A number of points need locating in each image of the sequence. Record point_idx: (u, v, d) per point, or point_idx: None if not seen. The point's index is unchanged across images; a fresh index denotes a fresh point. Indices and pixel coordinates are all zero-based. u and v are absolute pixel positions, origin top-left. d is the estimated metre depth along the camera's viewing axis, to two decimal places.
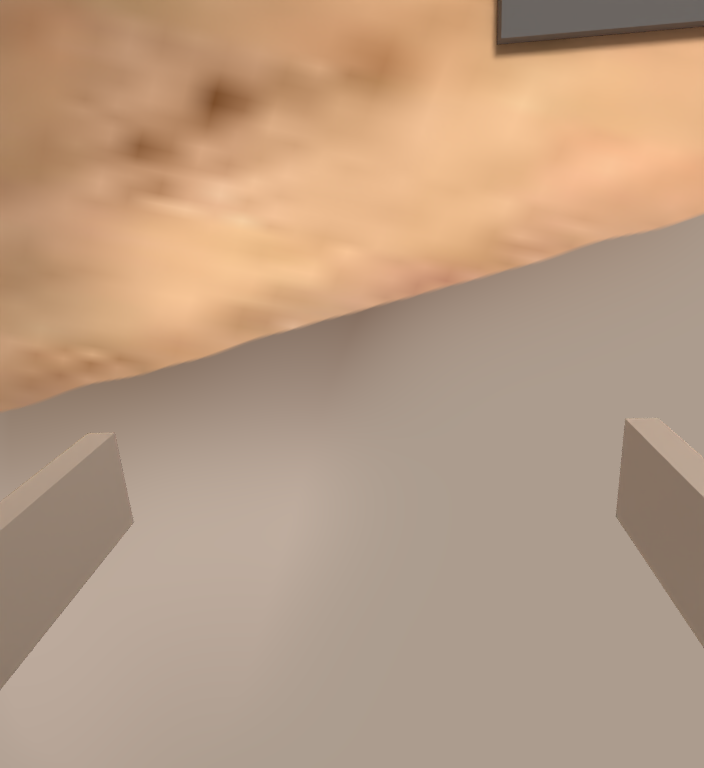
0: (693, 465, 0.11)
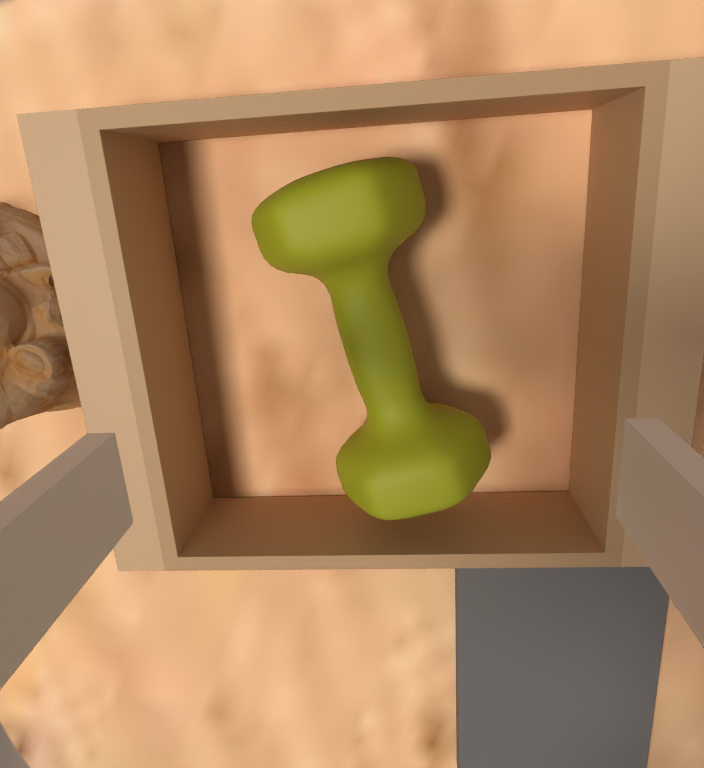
0: (693, 465, 0.11)
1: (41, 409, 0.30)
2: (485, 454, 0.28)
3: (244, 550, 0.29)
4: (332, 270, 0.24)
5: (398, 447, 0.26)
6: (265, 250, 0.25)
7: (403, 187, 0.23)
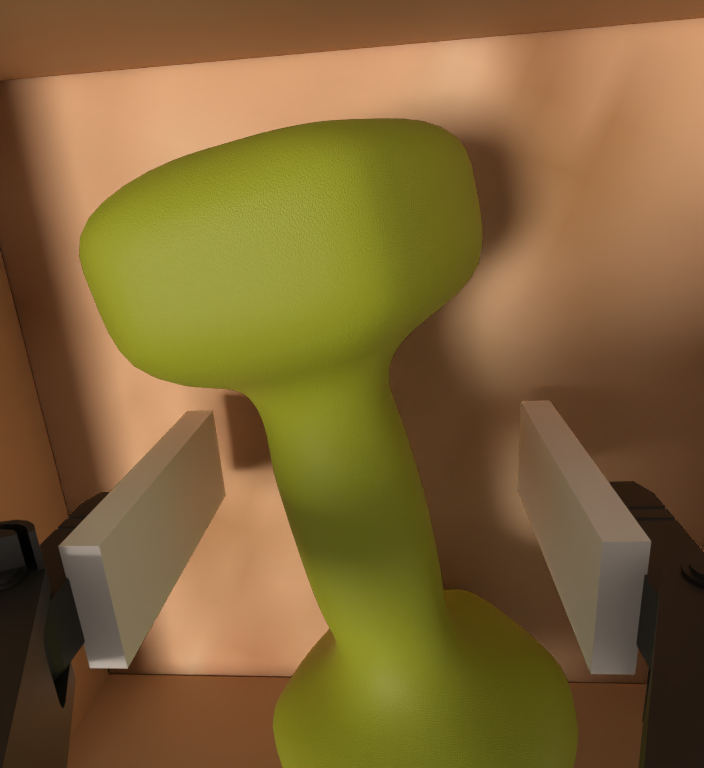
0: (561, 439, 0.13)
1: None
2: (572, 746, 0.14)
3: None
4: (253, 387, 0.10)
5: (395, 759, 0.12)
6: None
7: (437, 192, 0.09)
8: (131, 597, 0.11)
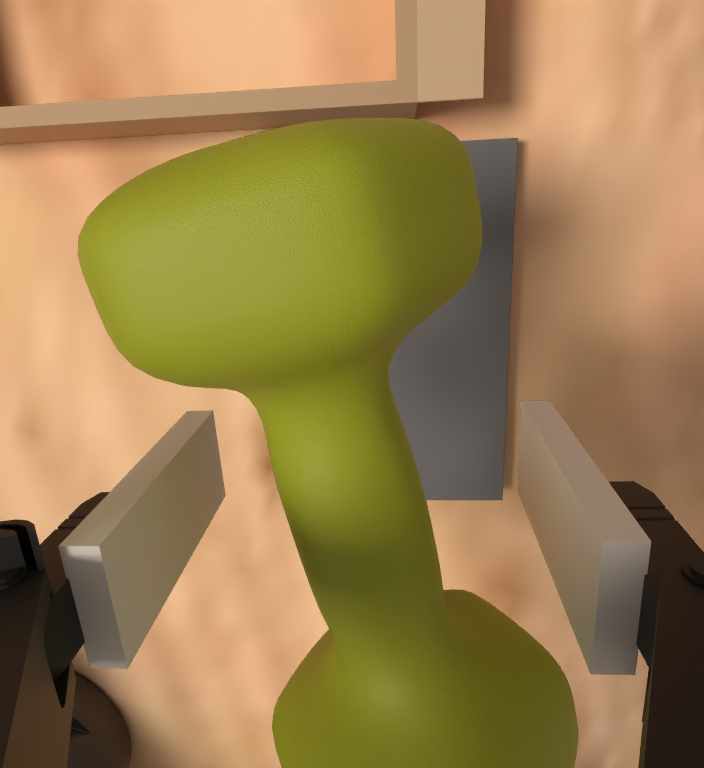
0: (561, 439, 0.13)
1: None
2: (572, 746, 0.14)
3: None
4: (252, 387, 0.10)
5: (394, 760, 0.12)
6: None
7: (437, 192, 0.09)
8: (131, 597, 0.11)
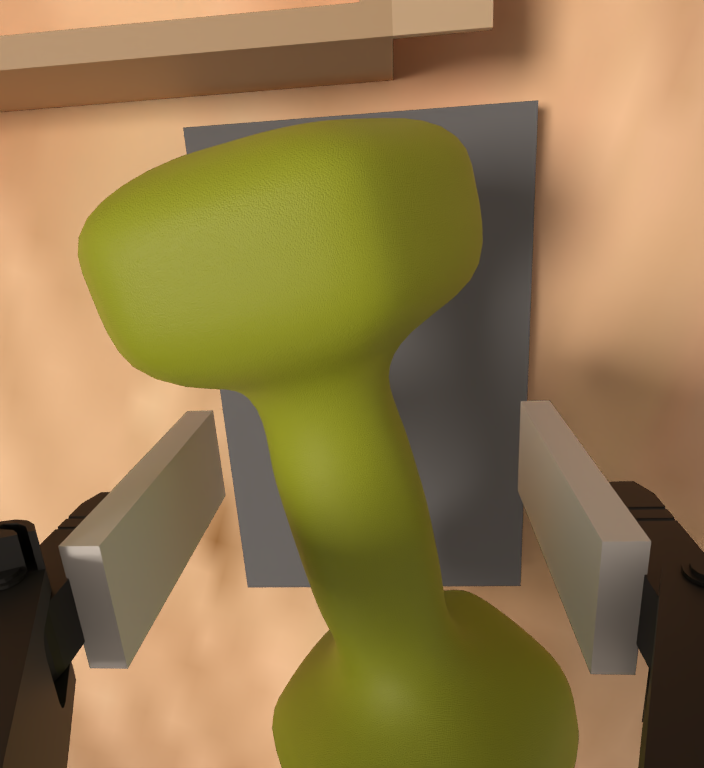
0: (561, 439, 0.13)
1: None
2: (572, 747, 0.14)
3: None
4: (253, 388, 0.10)
5: (394, 761, 0.12)
6: None
7: (438, 193, 0.09)
8: (131, 597, 0.11)
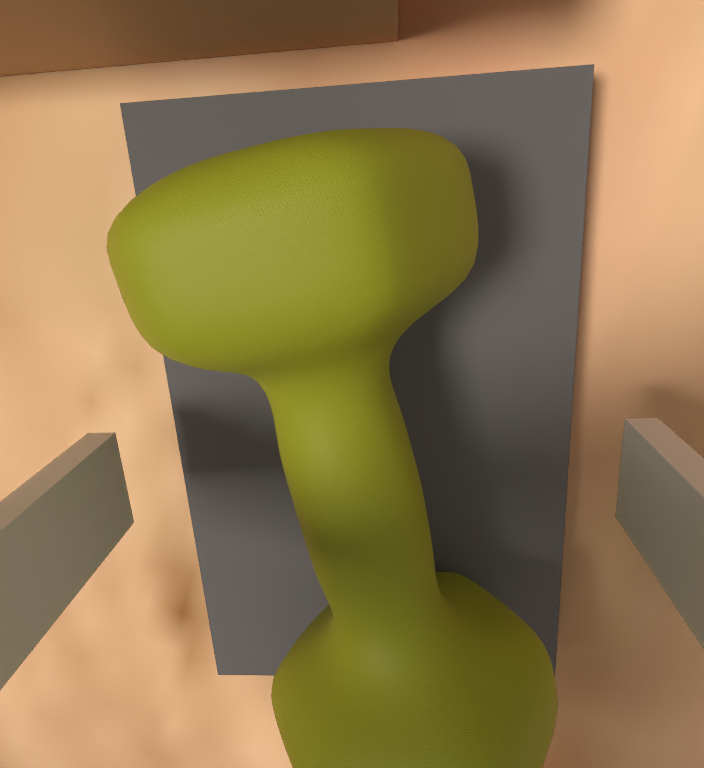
0: (692, 465, 0.11)
1: None
2: (551, 715, 0.15)
3: None
4: (265, 371, 0.11)
5: (386, 721, 0.13)
6: (129, 312, 0.12)
7: (438, 198, 0.10)
8: None
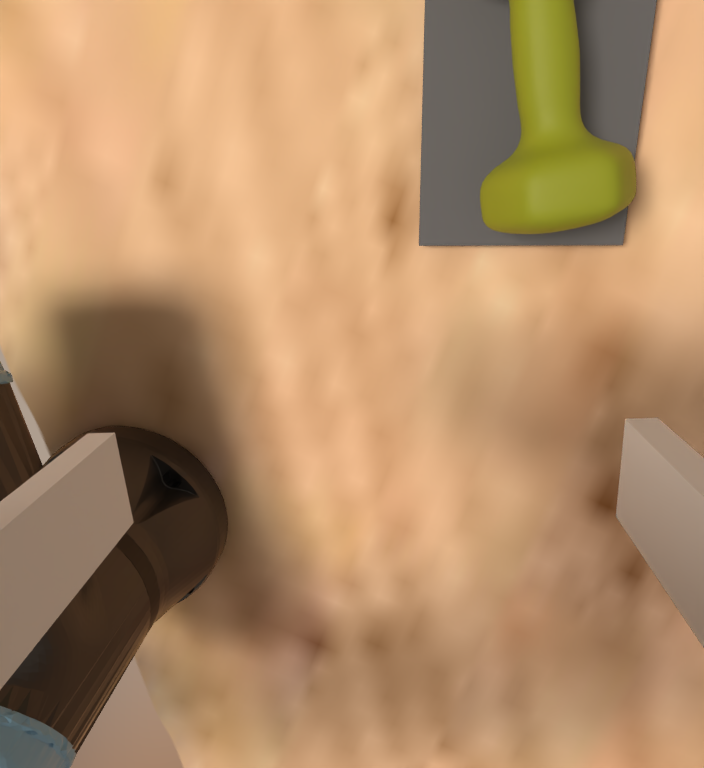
0: (693, 465, 0.11)
1: None
2: (634, 182, 0.29)
3: None
4: None
5: (560, 150, 0.27)
6: None
7: None
8: None
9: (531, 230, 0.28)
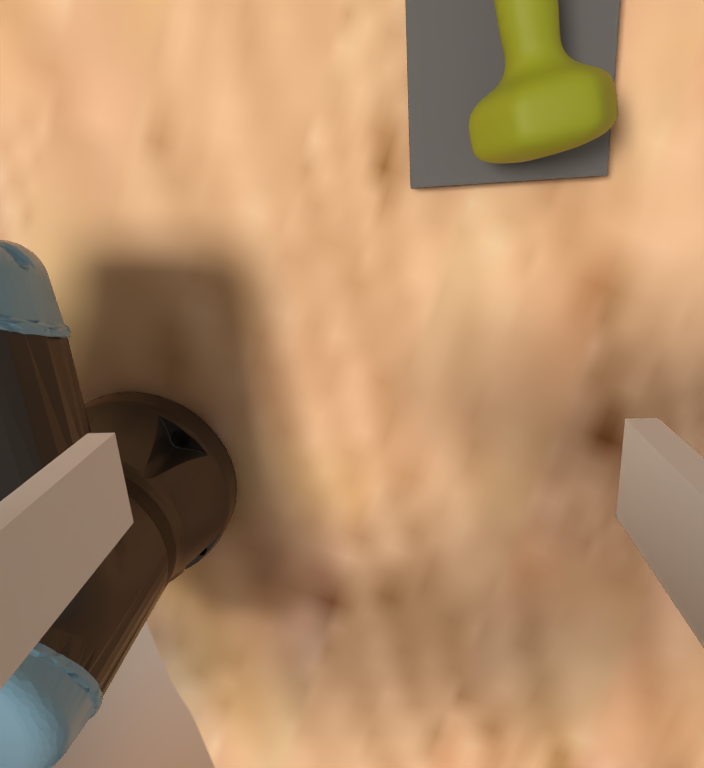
0: (693, 465, 0.11)
1: None
2: (616, 103, 0.30)
3: None
4: None
5: (544, 72, 0.28)
6: None
7: None
8: None
9: (521, 153, 0.30)
